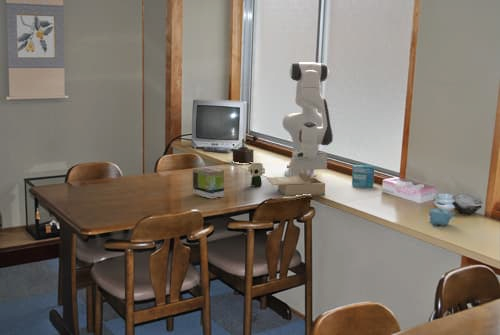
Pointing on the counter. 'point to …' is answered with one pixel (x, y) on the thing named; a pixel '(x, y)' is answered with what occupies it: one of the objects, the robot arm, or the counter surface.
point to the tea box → (208, 182)
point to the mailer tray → (303, 188)
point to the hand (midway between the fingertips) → (308, 177)
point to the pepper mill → (244, 152)
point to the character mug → (256, 173)
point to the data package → (363, 176)
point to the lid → (290, 179)
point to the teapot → (440, 217)
